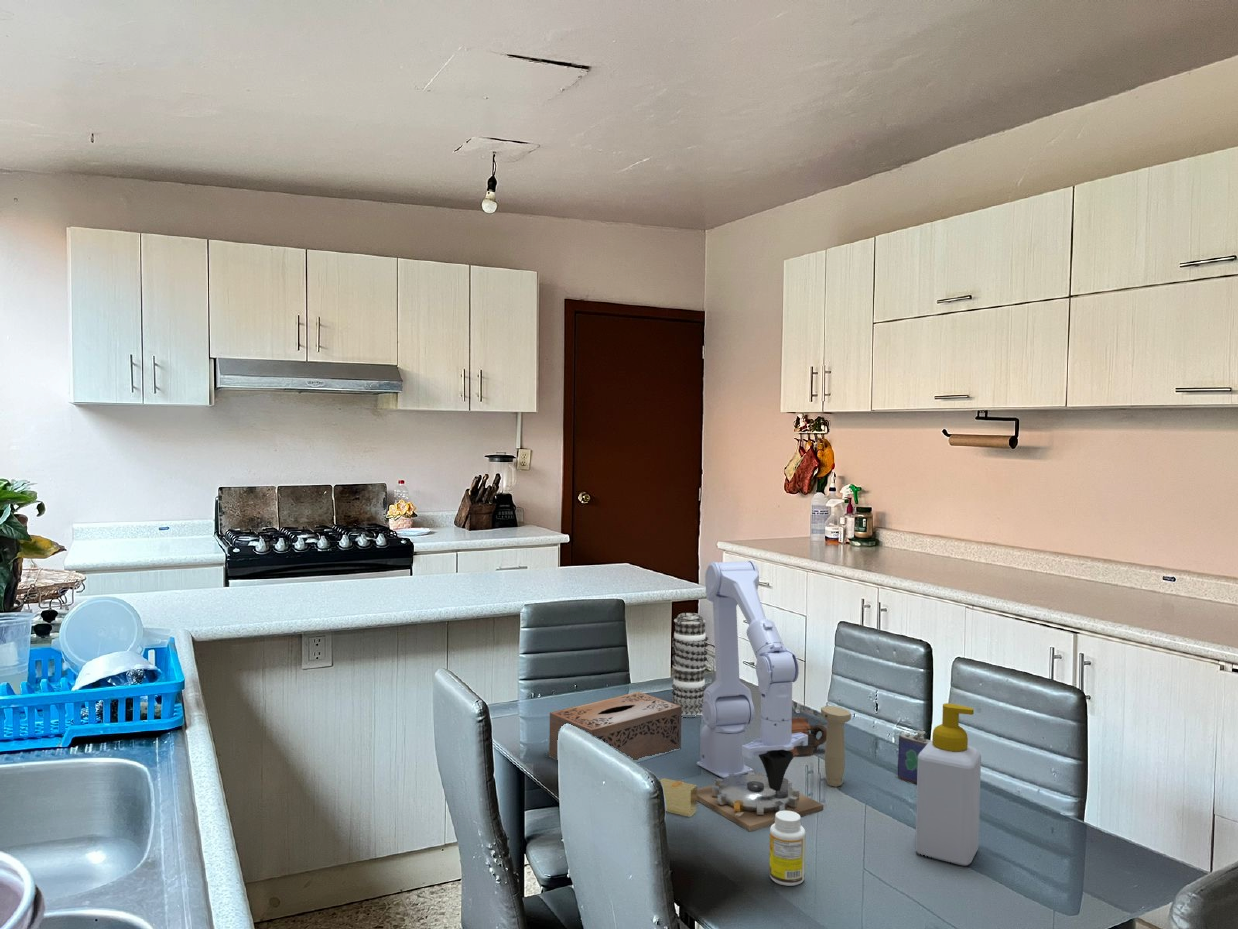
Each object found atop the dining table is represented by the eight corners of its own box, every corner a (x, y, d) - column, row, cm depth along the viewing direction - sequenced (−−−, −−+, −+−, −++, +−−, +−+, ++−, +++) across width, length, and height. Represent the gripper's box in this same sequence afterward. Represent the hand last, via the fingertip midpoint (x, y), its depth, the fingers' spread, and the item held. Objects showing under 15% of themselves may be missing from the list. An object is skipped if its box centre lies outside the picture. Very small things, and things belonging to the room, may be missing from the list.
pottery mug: (775, 758, 197) (769, 720, 201) (782, 764, 205) (775, 727, 209) (830, 749, 194) (822, 711, 198) (834, 755, 202) (826, 718, 206)
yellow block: (655, 809, 168) (656, 782, 168) (662, 804, 171) (663, 777, 171) (690, 817, 165) (690, 789, 165) (696, 811, 168) (697, 784, 167)
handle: (834, 792, 178) (836, 717, 177) (814, 780, 183) (816, 707, 183) (854, 788, 180) (855, 714, 179) (833, 776, 185) (835, 705, 185)
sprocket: (707, 809, 165) (707, 785, 165) (717, 776, 181) (717, 754, 181) (798, 818, 162) (798, 794, 162) (800, 784, 178) (800, 761, 178)
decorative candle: (708, 719, 222) (710, 618, 221) (671, 718, 222) (672, 618, 221) (705, 707, 231) (707, 611, 230) (669, 707, 231) (671, 610, 230)
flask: (944, 786, 181) (945, 734, 181) (939, 790, 179) (940, 737, 179) (900, 774, 187) (901, 724, 187) (894, 779, 185) (895, 727, 185)
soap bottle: (969, 869, 146) (973, 717, 146) (913, 855, 151) (917, 707, 150) (979, 848, 154) (984, 703, 153) (926, 835, 159) (929, 695, 158)
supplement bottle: (780, 866, 146) (781, 805, 146) (810, 878, 143) (812, 815, 143) (762, 879, 142) (763, 816, 142) (793, 891, 139) (794, 826, 138)
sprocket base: (689, 796, 174) (689, 790, 174) (759, 778, 184) (759, 772, 184) (749, 831, 159) (750, 825, 159) (823, 810, 169) (823, 803, 169)
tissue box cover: (591, 778, 183) (591, 730, 183) (549, 758, 194) (549, 712, 194) (680, 750, 200) (681, 706, 200) (637, 733, 211) (638, 691, 211)
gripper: (760, 729, 159) (759, 804, 160) (820, 716, 167) (818, 788, 167) (735, 718, 165) (734, 791, 166) (793, 706, 173) (792, 776, 173)
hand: (774, 789), depth 167 cm, fingers closed
